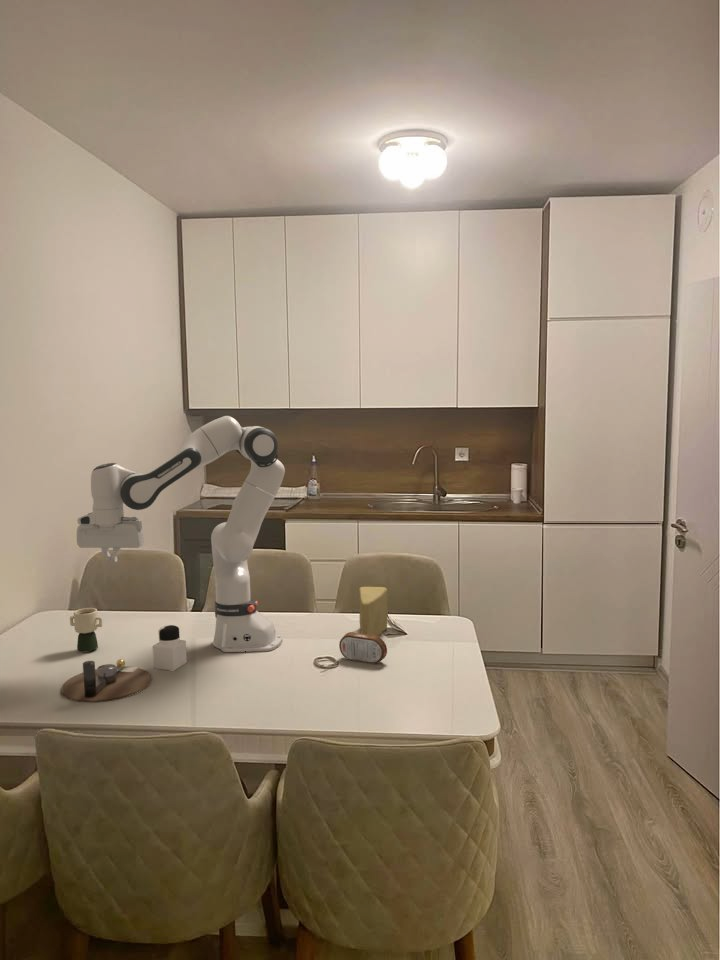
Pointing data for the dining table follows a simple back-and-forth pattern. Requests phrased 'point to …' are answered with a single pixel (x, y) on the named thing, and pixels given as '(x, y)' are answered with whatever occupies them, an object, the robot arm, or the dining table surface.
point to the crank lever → (99, 676)
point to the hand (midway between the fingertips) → (111, 561)
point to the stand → (109, 685)
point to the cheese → (373, 610)
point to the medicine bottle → (169, 649)
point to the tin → (363, 647)
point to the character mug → (86, 628)
